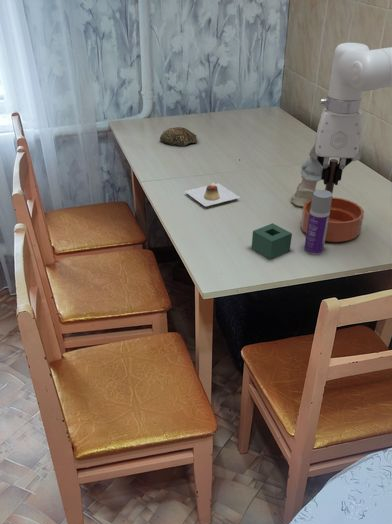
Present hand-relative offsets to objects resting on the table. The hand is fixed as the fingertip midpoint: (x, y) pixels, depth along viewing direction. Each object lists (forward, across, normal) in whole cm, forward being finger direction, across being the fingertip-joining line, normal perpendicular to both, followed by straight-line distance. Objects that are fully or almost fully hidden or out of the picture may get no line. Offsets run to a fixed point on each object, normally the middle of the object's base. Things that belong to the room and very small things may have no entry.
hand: (330, 182), depth 136 cm
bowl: (+13, +2, +1) cm, 14 cm away
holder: (+13, -14, -12) cm, 23 cm away
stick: (+11, 0, 0) cm, 11 cm away
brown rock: (+13, -48, +64) cm, 81 cm away
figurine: (+14, -4, +18) cm, 23 cm away
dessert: (+14, -31, +17) cm, 38 cm away
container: (+14, -3, -11) cm, 18 cm away
